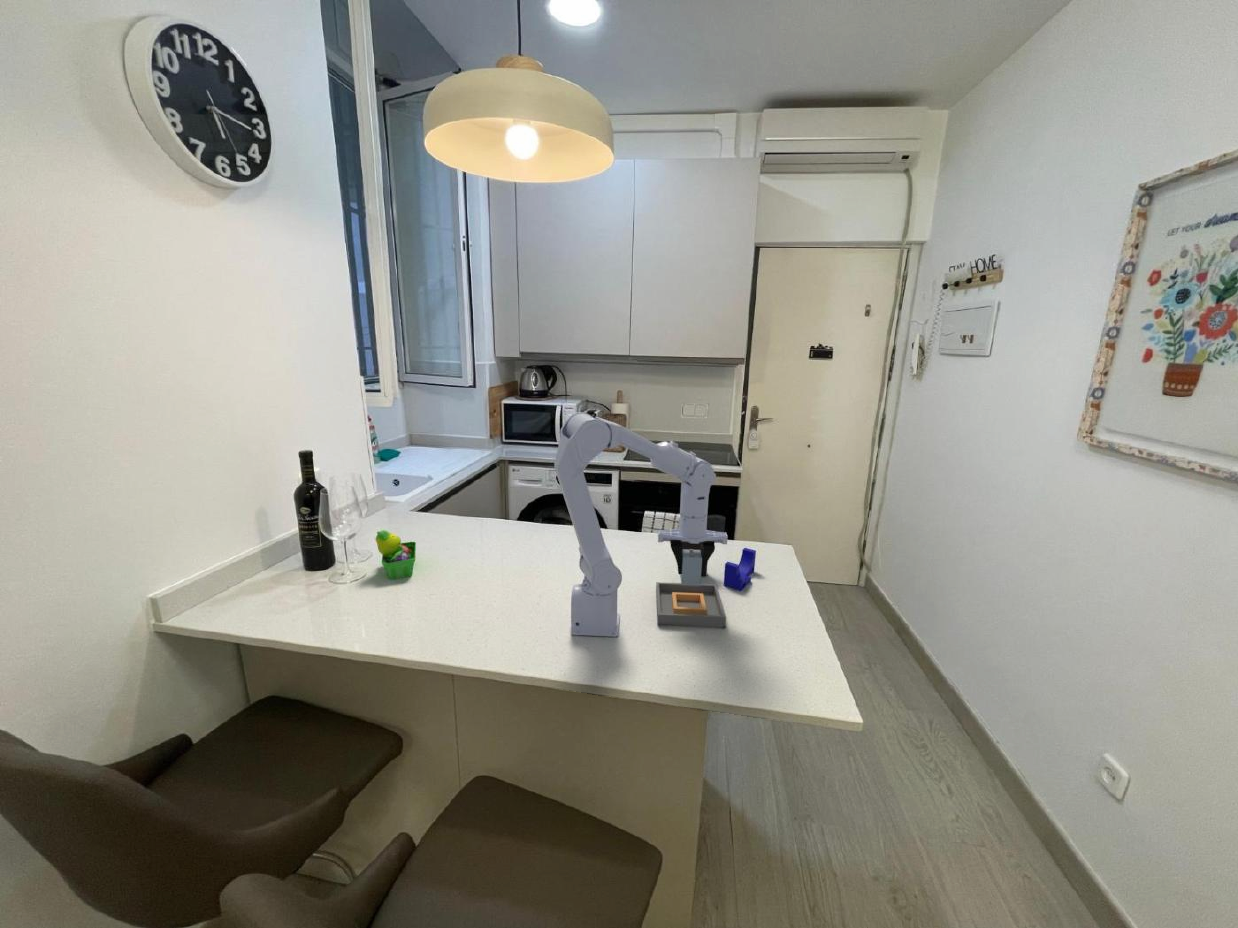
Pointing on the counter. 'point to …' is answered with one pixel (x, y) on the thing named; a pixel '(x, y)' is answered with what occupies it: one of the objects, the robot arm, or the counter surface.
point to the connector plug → (691, 567)
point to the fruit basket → (396, 555)
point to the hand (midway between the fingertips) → (690, 572)
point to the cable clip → (740, 570)
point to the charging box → (689, 605)
